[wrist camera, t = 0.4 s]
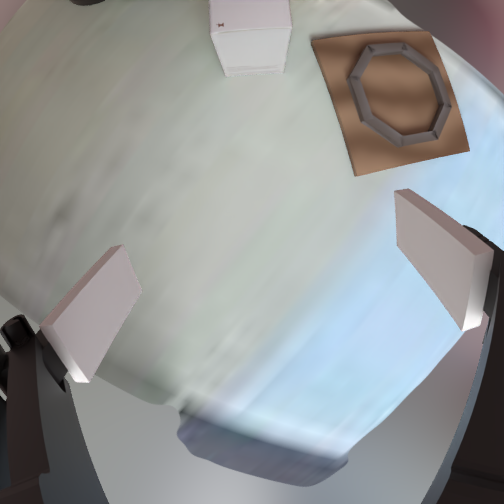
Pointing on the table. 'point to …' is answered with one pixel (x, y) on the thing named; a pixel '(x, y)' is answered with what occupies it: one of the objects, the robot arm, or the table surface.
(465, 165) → the table surface
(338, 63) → the mount plate
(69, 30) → the table surface
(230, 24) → the supplement box
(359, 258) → the table surface
